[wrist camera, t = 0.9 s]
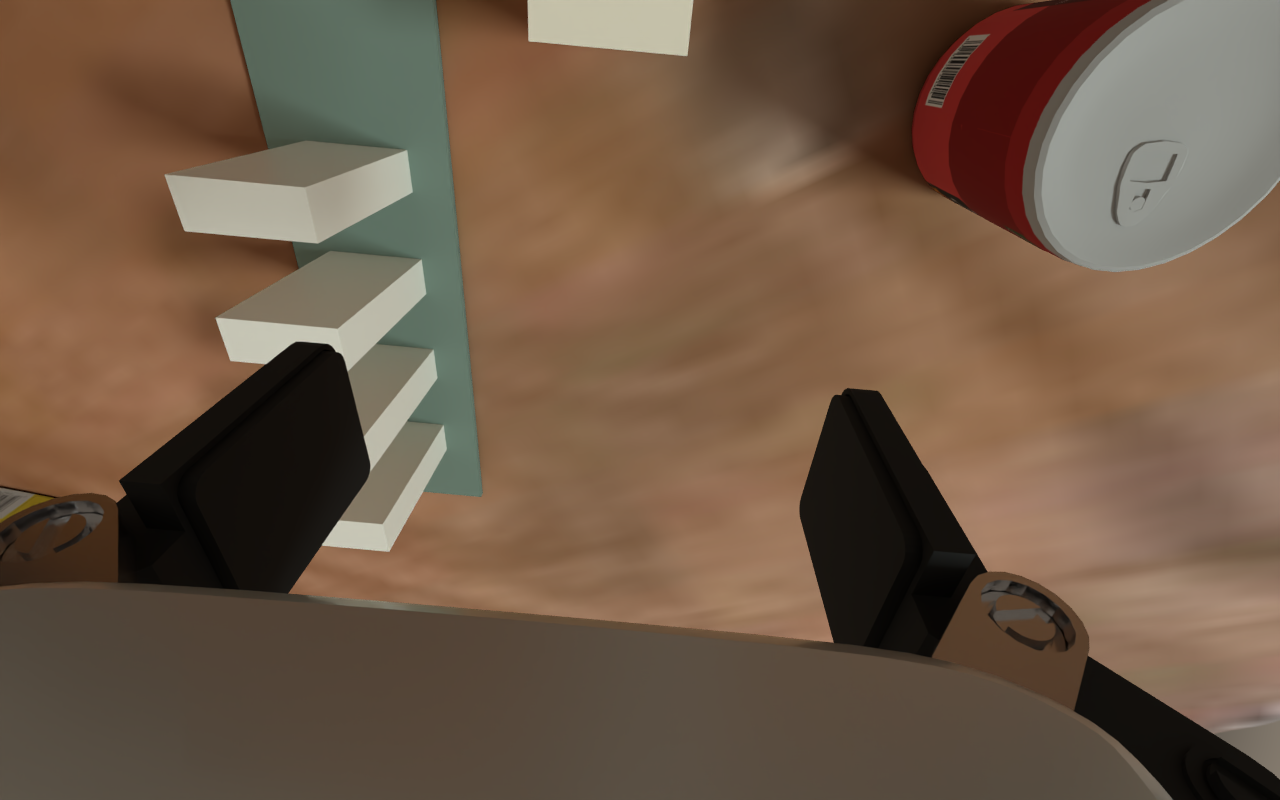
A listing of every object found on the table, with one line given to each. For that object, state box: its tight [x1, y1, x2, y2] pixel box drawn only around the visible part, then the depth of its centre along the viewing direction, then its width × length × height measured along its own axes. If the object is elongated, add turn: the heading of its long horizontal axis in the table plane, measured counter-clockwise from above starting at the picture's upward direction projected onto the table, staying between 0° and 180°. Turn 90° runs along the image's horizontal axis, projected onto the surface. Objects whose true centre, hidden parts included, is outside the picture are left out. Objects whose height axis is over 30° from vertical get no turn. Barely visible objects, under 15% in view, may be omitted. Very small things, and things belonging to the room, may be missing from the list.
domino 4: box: [322, 421, 447, 552], centre depth 33 cm, size 2×5×9 cm, turn 85°
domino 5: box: [528, 0, 693, 56], centre depth 21 cm, size 2×5×9 cm, turn 85°
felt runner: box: [230, 0, 483, 497], centre depth 31 cm, size 32×9×1 cm, turn 175°
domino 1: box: [164, 141, 413, 244], centre depth 24 cm, size 2×5×9 cm, turn 85°
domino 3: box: [348, 344, 437, 472], centre depth 30 cm, size 2×5×9 cm, turn 85°
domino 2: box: [215, 251, 426, 371], centre depth 27 cm, size 2×5×9 cm, turn 85°
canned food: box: [912, 0, 1280, 272], centre depth 21 cm, size 8×8×11 cm
